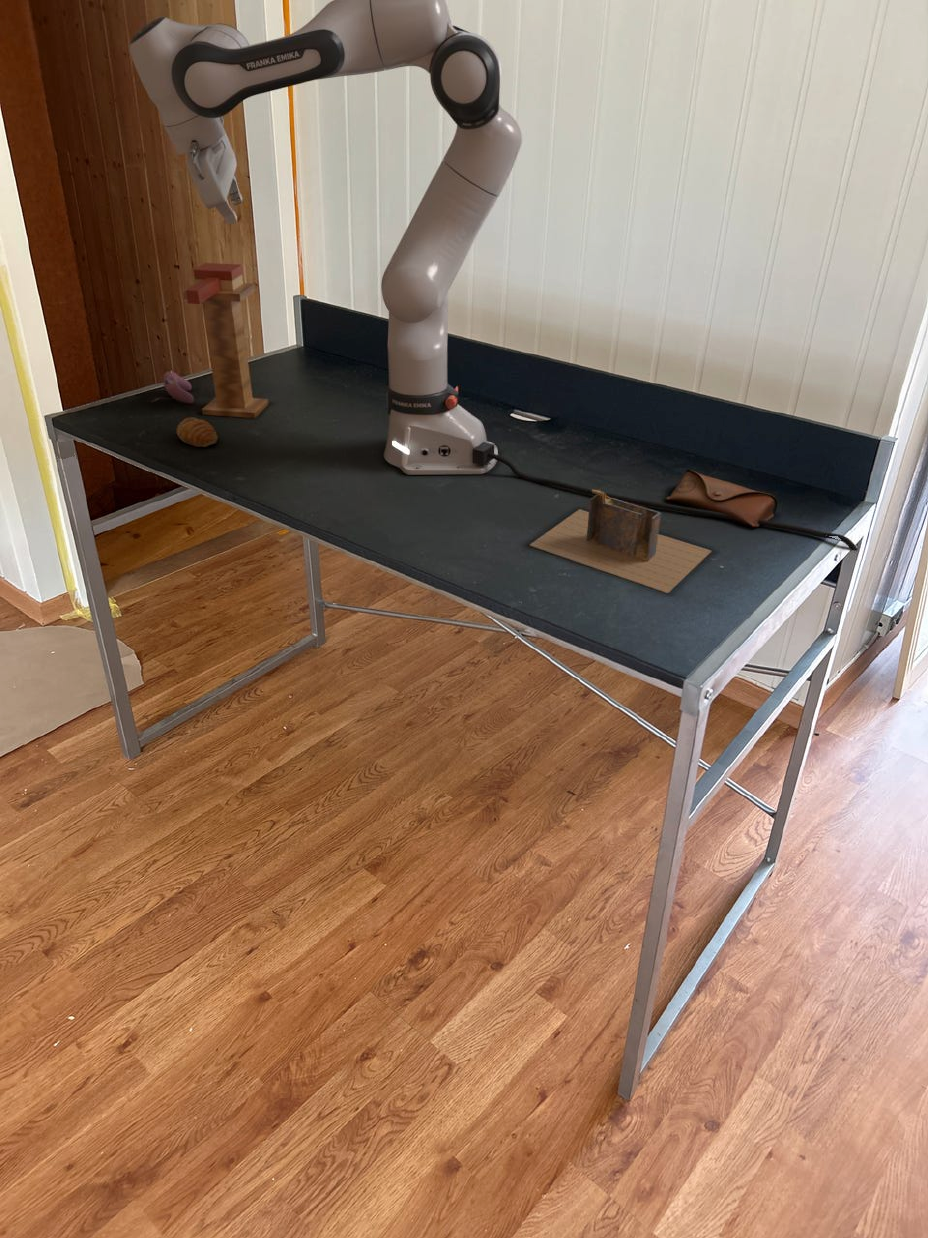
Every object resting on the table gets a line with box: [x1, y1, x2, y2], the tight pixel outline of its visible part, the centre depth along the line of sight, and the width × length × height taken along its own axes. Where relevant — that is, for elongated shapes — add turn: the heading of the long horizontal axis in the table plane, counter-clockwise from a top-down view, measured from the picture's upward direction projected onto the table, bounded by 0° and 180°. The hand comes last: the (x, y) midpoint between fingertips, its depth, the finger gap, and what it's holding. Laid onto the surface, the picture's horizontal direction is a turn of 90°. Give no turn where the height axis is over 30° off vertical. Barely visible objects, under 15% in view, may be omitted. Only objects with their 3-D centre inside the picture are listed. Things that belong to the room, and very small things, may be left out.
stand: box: [182, 282, 269, 419], centre depth 195 cm, size 12×9×26 cm
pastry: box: [175, 416, 219, 448], centre depth 186 cm, size 9×7×4 cm
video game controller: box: [162, 370, 195, 404], centre depth 206 cm, size 10×5×7 cm, turn 17°
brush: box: [185, 262, 244, 305], centre depth 183 cm, size 8×17×4 cm, turn 171°
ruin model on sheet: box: [529, 488, 712, 594], centre depth 148 cm, size 25×16×10 cm, turn 54°
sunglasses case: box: [665, 469, 778, 528], centre depth 163 cm, size 18×7×7 cm, turn 52°
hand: (236, 212), depth 163 cm, fingers open, 8 cm apart
